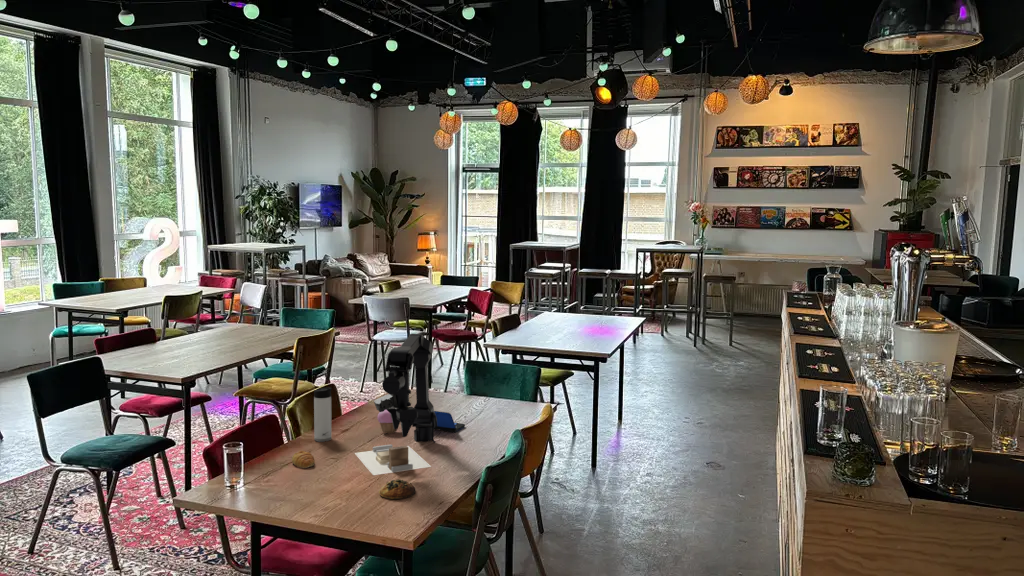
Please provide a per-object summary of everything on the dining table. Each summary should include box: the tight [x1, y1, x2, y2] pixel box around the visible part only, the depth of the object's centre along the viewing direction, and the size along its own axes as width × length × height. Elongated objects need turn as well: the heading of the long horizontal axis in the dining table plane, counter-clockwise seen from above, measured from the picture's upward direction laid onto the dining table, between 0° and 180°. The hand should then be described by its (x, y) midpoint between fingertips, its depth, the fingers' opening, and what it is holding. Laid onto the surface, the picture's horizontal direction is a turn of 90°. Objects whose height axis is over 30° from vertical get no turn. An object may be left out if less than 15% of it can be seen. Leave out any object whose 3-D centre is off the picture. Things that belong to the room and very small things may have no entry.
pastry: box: [291, 450, 316, 469], centre depth 239 cm, size 9×7×4 cm
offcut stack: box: [376, 451, 389, 464], centre depth 243 cm, size 10×5×2 cm, turn 117°
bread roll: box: [378, 479, 416, 500], centre depth 216 cm, size 11×11×5 cm
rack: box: [354, 444, 432, 476], centre depth 243 cm, size 20×24×2 cm
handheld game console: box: [434, 410, 466, 434], centre depth 283 cm, size 16×13×9 cm
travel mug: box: [313, 387, 333, 443], centre depth 266 cm, size 6×7×20 cm
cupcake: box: [376, 410, 398, 435], centre depth 276 cm, size 9×9×10 cm
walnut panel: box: [389, 445, 408, 470], centre depth 234 cm, size 6×2×7 cm, turn 117°
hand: (400, 433), depth 234 cm, fingers open, 9 cm apart
